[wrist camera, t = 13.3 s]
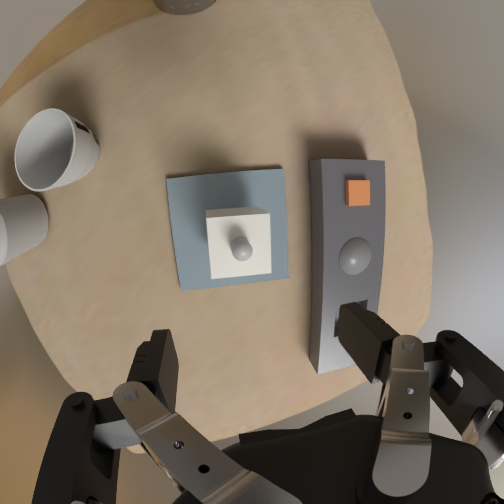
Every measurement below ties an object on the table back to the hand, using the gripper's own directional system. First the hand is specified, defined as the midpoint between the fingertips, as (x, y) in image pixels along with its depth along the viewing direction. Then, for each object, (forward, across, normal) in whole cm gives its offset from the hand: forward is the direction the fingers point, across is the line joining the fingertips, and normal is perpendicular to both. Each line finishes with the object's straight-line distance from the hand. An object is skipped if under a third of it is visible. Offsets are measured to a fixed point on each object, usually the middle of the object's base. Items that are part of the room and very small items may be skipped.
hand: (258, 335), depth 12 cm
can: (+23, +27, -6) cm, 36 cm away
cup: (+23, +17, -13) cm, 31 cm away
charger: (+22, -1, -1) cm, 22 cm away
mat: (+22, -1, 0) cm, 23 cm away
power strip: (+22, -16, +7) cm, 28 cm away
